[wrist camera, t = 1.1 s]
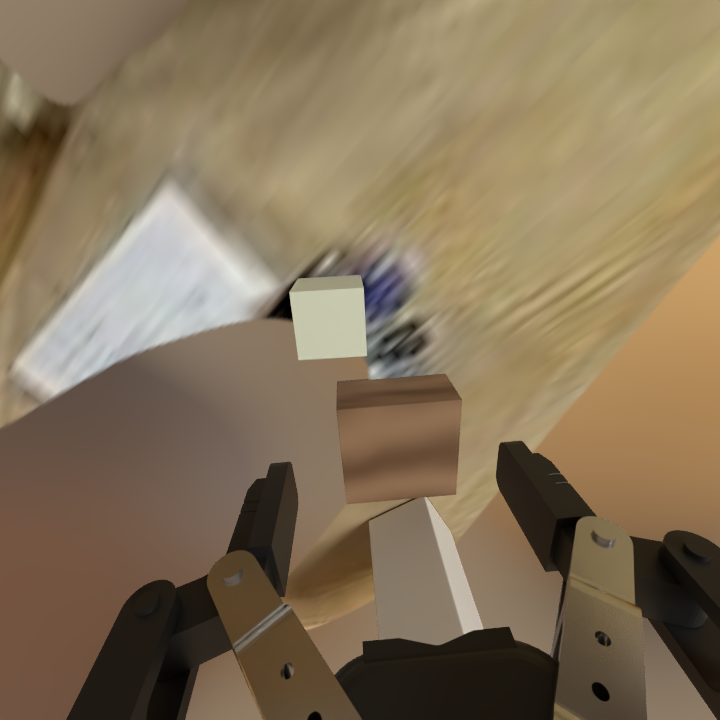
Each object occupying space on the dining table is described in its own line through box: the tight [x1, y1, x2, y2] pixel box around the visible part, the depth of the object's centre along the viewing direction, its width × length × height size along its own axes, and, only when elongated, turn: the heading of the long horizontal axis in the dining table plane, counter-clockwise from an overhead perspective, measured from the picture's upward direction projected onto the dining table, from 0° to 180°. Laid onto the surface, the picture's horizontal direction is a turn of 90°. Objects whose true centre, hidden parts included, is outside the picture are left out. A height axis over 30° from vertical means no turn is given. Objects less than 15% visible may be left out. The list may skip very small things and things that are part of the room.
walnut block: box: [337, 374, 462, 504], centre depth 31 cm, size 10×10×5 cm
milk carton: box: [369, 497, 483, 645], centre depth 30 cm, size 7×7×19 cm
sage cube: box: [289, 275, 367, 360], centre depth 26 cm, size 5×5×5 cm
